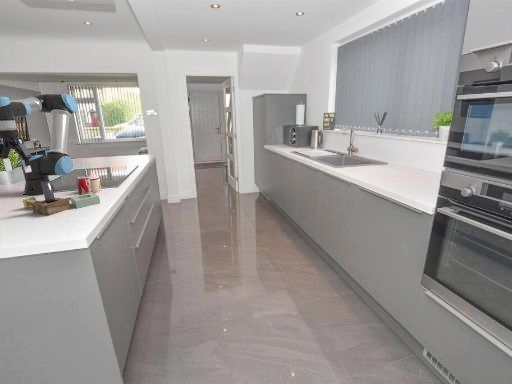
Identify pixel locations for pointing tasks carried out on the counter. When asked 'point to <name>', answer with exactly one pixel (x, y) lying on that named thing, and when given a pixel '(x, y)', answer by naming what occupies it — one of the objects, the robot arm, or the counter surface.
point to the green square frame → (85, 200)
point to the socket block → (51, 206)
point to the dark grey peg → (48, 191)
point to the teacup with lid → (95, 182)
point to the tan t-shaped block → (29, 202)
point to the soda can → (84, 185)
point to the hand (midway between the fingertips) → (18, 171)
